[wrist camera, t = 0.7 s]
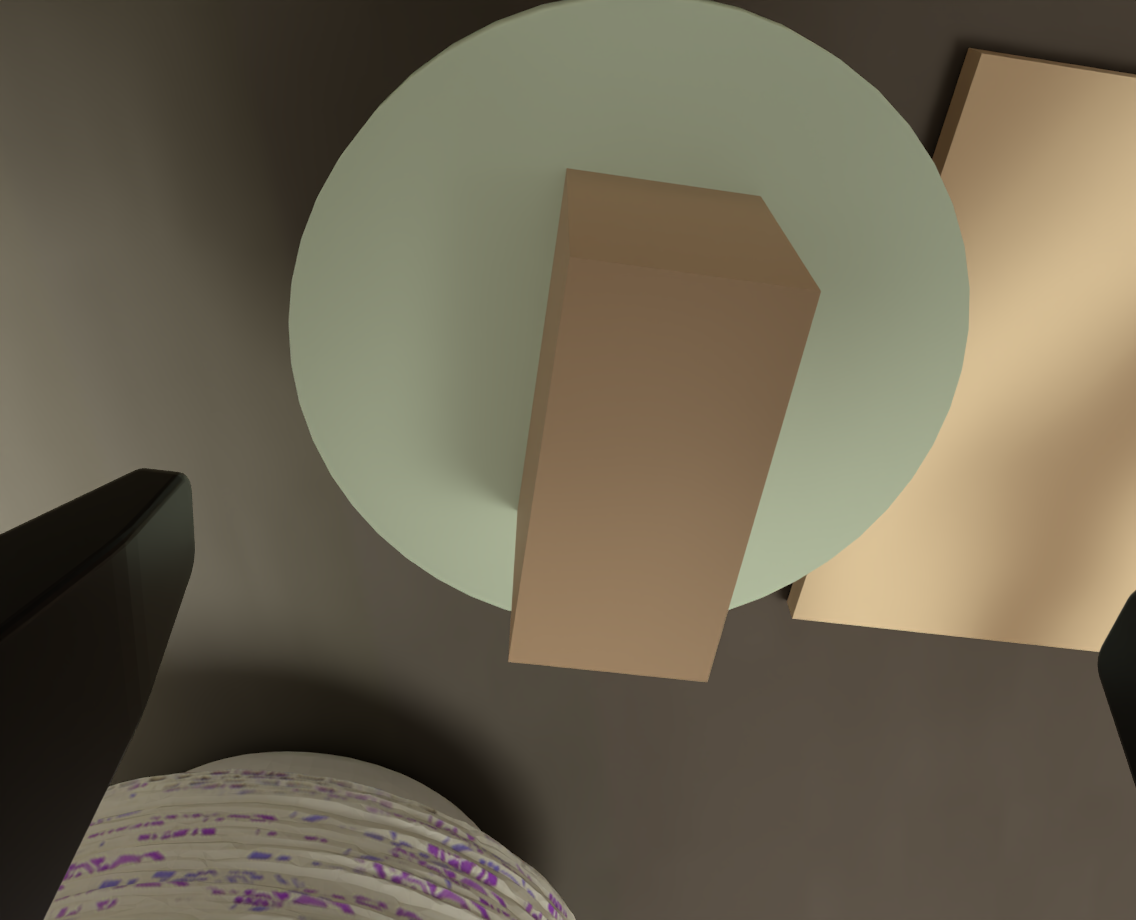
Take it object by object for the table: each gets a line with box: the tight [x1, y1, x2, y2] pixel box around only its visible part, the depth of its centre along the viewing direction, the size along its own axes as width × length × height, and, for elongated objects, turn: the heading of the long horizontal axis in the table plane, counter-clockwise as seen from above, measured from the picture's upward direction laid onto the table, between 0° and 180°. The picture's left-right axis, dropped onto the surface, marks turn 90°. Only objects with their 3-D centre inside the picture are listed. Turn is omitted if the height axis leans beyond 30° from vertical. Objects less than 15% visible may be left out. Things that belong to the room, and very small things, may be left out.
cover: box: [288, 0, 970, 682], centre depth 12 cm, size 9×9×4 cm
